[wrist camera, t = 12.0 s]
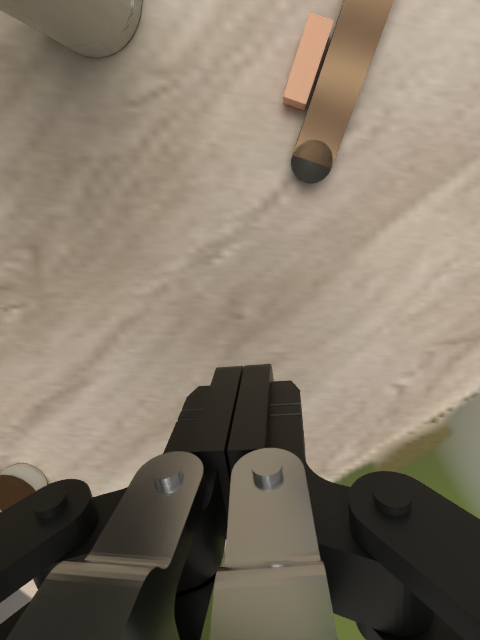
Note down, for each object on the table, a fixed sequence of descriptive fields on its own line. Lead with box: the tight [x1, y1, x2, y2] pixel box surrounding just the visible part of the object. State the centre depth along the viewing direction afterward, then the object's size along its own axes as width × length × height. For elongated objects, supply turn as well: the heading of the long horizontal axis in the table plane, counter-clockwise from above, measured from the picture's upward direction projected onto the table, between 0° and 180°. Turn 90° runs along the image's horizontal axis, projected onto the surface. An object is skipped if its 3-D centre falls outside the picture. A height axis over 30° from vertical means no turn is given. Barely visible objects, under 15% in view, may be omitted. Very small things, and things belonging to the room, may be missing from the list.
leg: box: [291, 0, 394, 183], centre depth 32 cm, size 24×4×4 cm, turn 163°
